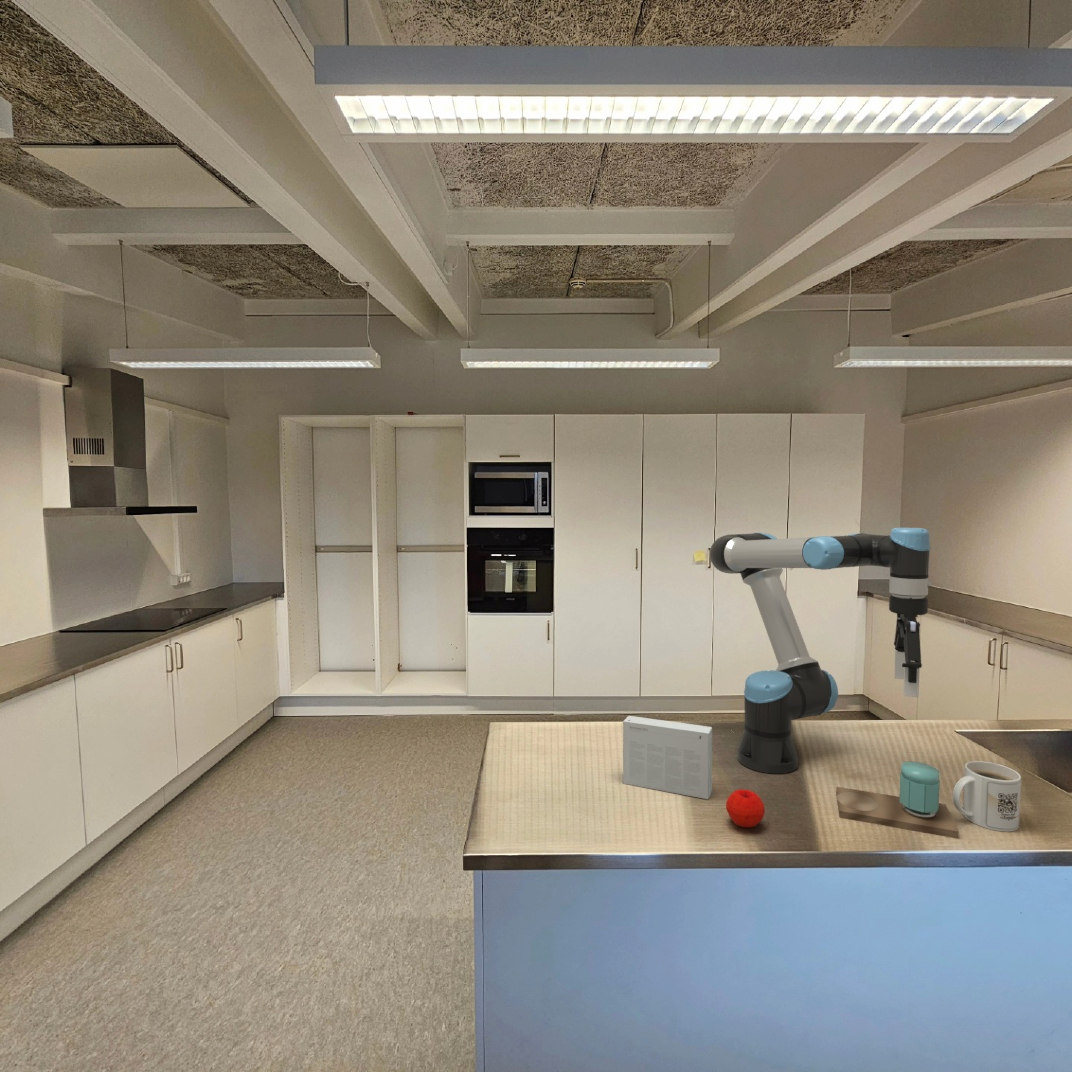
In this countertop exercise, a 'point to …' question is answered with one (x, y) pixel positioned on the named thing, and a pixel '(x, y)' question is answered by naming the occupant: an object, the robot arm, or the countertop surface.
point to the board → (891, 812)
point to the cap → (919, 787)
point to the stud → (919, 813)
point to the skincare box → (667, 756)
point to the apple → (745, 808)
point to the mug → (990, 795)
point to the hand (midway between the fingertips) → (905, 687)
